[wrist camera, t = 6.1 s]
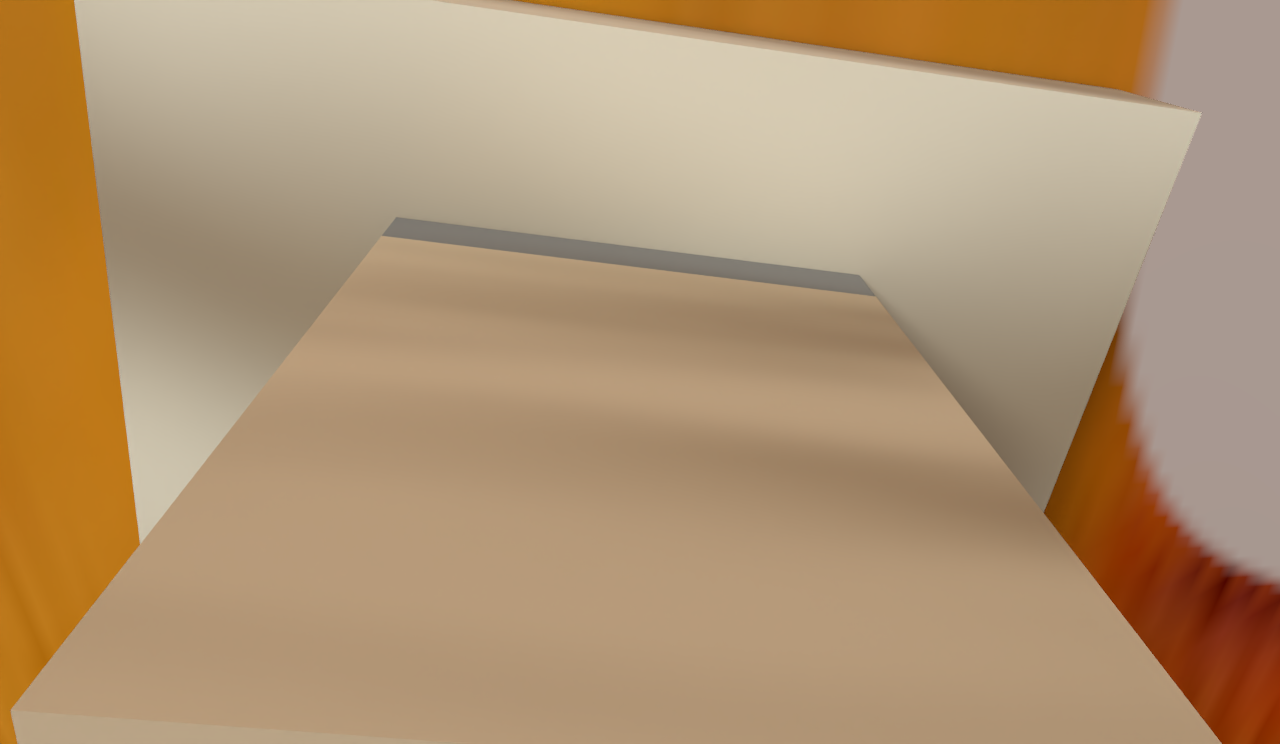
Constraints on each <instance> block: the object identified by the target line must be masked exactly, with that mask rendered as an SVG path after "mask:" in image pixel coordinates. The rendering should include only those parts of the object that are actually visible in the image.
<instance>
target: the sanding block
mask: <svg viewBox="0 0 1280 744" xmlns="http://www.w3.org/2000/svg"><path fill="white" fill-rule="evenodd" d="M11 715H12V720H13V724H14V729H15V734H16V738H17V743H18V744H1222V743H1221V742H1220V741H1219V739H1218V738H1217V737H1216V736H1215V734H1214V733H1213V732H1212V730H1211V729H1210V728H1209V726H1208V725H1207V724H1206V723H1205V721H1204V720H1203V719H1202V717H1201V716H1200V715H1199V714H1198V712H1197V711H1196V710H1195V708H1194V707H1193V706H1192V704H1191V703H1190V702H1189V701H1188V699H1187V698H1186V697H1185V695H1184V694H1183V693H1182V692H1181V690H1180V689H1179V688H1178V686H1177V685H1176V684H1175V683H1174V681H1173V680H1172V679H1171V677H1170V676H1169V675H1168V673H1167V672H1166V671H1165V670H1164V668H1163V667H1162V666H1161V664H1160V663H1159V662H1158V661H1157V659H1156V658H1155V657H1154V655H1153V654H1152V653H1151V651H1150V650H1149V649H1148V648H1147V646H1146V645H1145V644H1144V642H1143V641H1142V640H1141V639H1140V637H1139V636H1138V635H1137V633H1136V632H1135V631H1134V629H1133V628H1132V627H1131V626H1130V624H1129V623H1128V622H1127V620H1126V619H1125V618H1124V617H1123V615H1122V614H1121V613H1120V611H1119V610H1118V609H1117V608H1116V606H1115V605H1114V604H1113V602H1112V601H1111V600H1110V598H1109V597H1108V596H1107V595H1106V593H1105V592H1104V591H1103V589H1102V588H1101V587H1100V586H1099V584H1098V583H1097V582H1096V580H1095V579H1094V578H1093V576H1092V575H1091V574H1090V573H1089V571H1088V570H1087V569H1086V567H1085V566H1084V565H1083V564H1082V562H1081V561H1080V560H1079V558H1078V557H1077V556H1076V555H1075V553H1074V552H1073V551H1072V549H1071V548H1070V547H1069V545H1068V544H1067V543H1066V542H1065V540H1064V539H1063V538H1062V536H1061V535H1060V534H1059V533H1058V531H1057V530H1056V529H1055V527H1054V526H1053V525H1052V523H1051V522H1050V521H1049V520H1048V518H1047V517H1046V516H1045V514H1044V513H1043V512H1042V511H1041V509H1040V508H1039V507H1038V505H1037V504H1036V503H1035V502H1034V500H1033V499H1032V498H1031V496H1030V495H1029V494H1028V492H1027V491H1026V490H1025V489H1024V487H1023V486H1022V485H1021V483H1020V482H1019V481H1018V480H1017V478H1016V477H1015V476H1014V474H1013V473H1012V472H1011V470H1010V469H1009V468H1008V467H1007V465H1006V464H1005V463H1004V461H1003V460H1002V459H1001V458H1000V456H999V455H998V454H997V452H996V451H995V450H994V448H993V447H992V446H991V445H990V443H989V442H988V441H987V439H986V438H985V437H984V436H983V434H982V433H981V432H980V430H979V429H978V428H977V427H976V425H975V424H974V423H973V421H972V420H971V419H970V417H969V416H968V415H967V414H966V412H965V411H964V410H963V408H962V407H961V406H960V405H959V403H958V402H957V401H956V399H955V398H954V397H953V395H952V394H951V393H950V392H949V390H948V389H947V388H946V386H945V385H944V384H943V383H942V381H941V380H940V379H939V377H938V376H937V375H936V374H935V372H934V371H933V370H932V368H931V367H930V366H929V364H928V363H927V362H926V361H925V359H924V358H923V357H922V355H921V354H920V353H919V352H918V350H917V349H916V348H915V346H914V345H913V344H912V342H911V341H910V340H909V339H908V337H907V336H906V335H905V333H904V332H903V331H902V330H901V328H900V327H899V326H898V324H897V323H896V322H895V321H894V319H893V318H892V317H891V315H890V314H889V313H888V311H887V310H886V309H885V308H884V306H883V305H882V304H881V302H880V301H879V300H878V299H877V297H876V296H875V295H874V293H873V292H872V291H871V289H870V288H869V287H868V286H867V284H866V283H865V282H864V280H863V279H862V278H861V277H860V275H855V274H847V273H839V272H831V271H823V270H815V269H807V268H799V267H791V266H783V265H775V264H767V263H759V262H751V261H743V260H735V259H727V258H719V257H711V256H703V255H695V254H687V253H679V252H671V251H663V250H655V249H647V248H639V247H631V246H623V245H615V244H607V243H599V242H591V241H583V240H575V239H567V238H559V237H551V236H543V235H535V234H527V233H519V232H511V231H503V230H495V229H487V228H479V227H471V226H463V225H455V224H447V223H439V222H431V221H423V220H415V219H407V218H399V217H396V218H395V219H394V221H393V222H392V223H391V224H390V226H389V227H388V228H387V230H386V231H385V232H384V233H383V235H382V236H381V237H380V238H379V240H378V241H377V242H376V244H375V245H374V246H373V247H372V249H371V250H370V251H369V253H368V254H367V255H366V256H365V258H364V259H363V260H362V262H361V263H360V264H359V265H358V267H357V268H356V269H355V270H354V272H353V273H352V274H351V276H350V277H349V278H348V279H347V281H346V282H345V283H344V285H343V286H342V287H341V288H340V290H339V291H338V292H337V293H336V295H335V296H334V297H333V299H332V300H331V301H330V302H329V304H328V305H327V306H326V308H325V309H324V310H323V311H322V313H321V314H320V315H319V316H318V318H317V319H316V320H315V322H314V323H313V324H312V325H311V327H310V328H309V329H308V331H307V332H306V333H305V334H304V336H303V337H302V338H301V340H300V341H299V342H298V343H297V345H296V346H295V347H294V348H293V350H292V351H291V352H290V354H289V355H288V356H287V357H286V359H285V360H284V361H283V363H282V364H281V365H280V366H279V368H278V369H277V370H276V371H275V373H274V374H273V375H272V377H271V378H270V379H269V380H268V382H267V383H266V384H265V386H264V387H263V388H262V389H261V391H260V392H259V393H258V394H257V396H256V397H255V398H254V400H253V401H252V402H251V403H250V405H249V406H248V407H247V409H246V410H245V411H244V412H243V414H242V415H241V416H240V418H239V419H238V420H237V421H236V423H235V424H234V425H233V426H232V428H231V429H230V430H229V432H228V433H227V434H226V435H225V437H224V438H223V439H222V441H221V442H220V443H219V444H218V446H217V447H216V448H215V449H214V451H213V452H212V453H211V455H210V456H209V457H208V458H207V460H206V461H205V462H204V464H203V465H202V466H201V467H200V469H199V470H198V471H197V473H196V474H195V475H194V476H193V478H192V479H191V480H190V481H189V483H188V484H187V485H186V487H185V488H184V489H183V490H182V492H181V493H180V494H179V496H178V497H177V498H176V499H175V501H174V502H173V503H172V504H171V506H170V507H169V508H168V510H167V511H166V512H165V513H164V515H163V516H162V517H161V519H160V520H159V521H158V522H157V524H156V525H155V526H154V527H153V529H152V530H151V531H150V533H149V534H148V535H147V536H146V538H145V539H144V540H143V542H142V543H141V544H140V545H139V547H138V548H137V549H136V551H135V552H134V553H133V554H132V556H131V557H130V558H129V559H128V561H127V562H126V563H125V565H124V566H123V567H122V568H121V570H120V571H119V572H118V574H117V575H116V576H115V577H114V579H113V580H112V581H111V582H110V584H109V585H108V586H107V588H106V589H105V590H104V591H103V593H102V594H101V595H100V597H99V598H98V599H97V600H96V602H95V603H94V604H93V605H92V607H91V608H90V609H89V611H88V612H87V613H86V614H85V616H84V617H83V618H82V620H81V621H80V622H79V623H78V625H77V626H76V627H75V629H74V630H73V631H72V632H71V634H70V635H69V636H68V637H67V639H66V640H65V641H64V643H63V644H62V645H61V646H60V648H59V649H58V650H57V652H56V653H55V654H54V655H53V657H52V658H51V659H50V660H49V662H48V663H47V664H46V666H45V667H44V668H43V669H42V671H41V672H40V673H39V675H38V676H37V677H36V678H35V680H34V681H33V682H32V684H31V685H30V686H29V687H28V689H27V690H26V691H25V692H24V694H23V695H22V696H21V698H20V699H19V700H18V701H17V703H16V704H15V705H14V707H13V708H12V709H11Z"/></svg>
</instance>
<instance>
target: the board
mask: <svg viewBox="0 0 1280 744" xmlns="http://www.w3.org/2000/svg"><path fill="white" fill-rule="evenodd" d="M74 3H75V11H76V19H77V27H78V36H79V44H80V52H81V60H82V69H83V77H84V85H85V93H86V102H87V110H88V118H89V126H90V134H91V143H92V151H93V159H94V167H95V176H96V184H97V192H98V200H99V209H100V217H101V225H102V233H103V242H104V250H105V258H106V266H107V275H108V283H109V291H110V299H111V308H112V316H113V324H114V332H115V341H116V349H117V357H118V365H119V374H120V382H121V390H122V398H123V407H124V415H125V423H126V431H127V440H128V448H129V456H130V464H131V473H132V481H133V489H134V497H135V506H136V514H137V522H138V530H139V539H140V544H141V543H142V542H143V540H144V539H145V538H146V536H147V535H148V534H149V533H150V531H151V530H152V529H153V527H154V526H155V525H156V524H157V522H158V521H159V520H160V519H161V517H162V516H163V515H164V513H165V512H166V511H167V510H168V508H169V507H170V506H171V504H172V503H173V502H174V501H175V499H176V498H177V497H178V496H179V494H180V493H181V492H182V490H183V489H184V488H185V487H186V485H187V484H188V483H189V481H190V480H191V479H192V478H193V476H194V475H195V474H196V473H197V471H198V470H199V469H200V467H201V466H202V465H203V464H204V462H205V461H206V460H207V458H208V457H209V456H210V455H211V453H212V452H213V451H214V449H215V448H216V447H217V446H218V444H219V443H220V442H221V441H222V439H223V438H224V437H225V435H226V434H227V433H228V432H229V430H230V429H231V428H232V426H233V425H234V424H235V423H236V421H237V420H238V419H239V418H240V416H241V415H242V414H243V412H244V411H245V410H246V409H247V407H248V406H249V405H250V403H251V402H252V401H253V400H254V398H255V397H256V396H257V394H258V393H259V392H260V391H261V389H262V388H263V387H264V386H265V384H266V383H267V382H268V380H269V379H270V378H271V377H272V375H273V374H274V373H275V371H276V370H277V369H278V368H279V366H280V365H281V364H282V363H283V361H284V360H285V359H286V357H287V356H288V355H289V354H290V352H291V351H292V350H293V348H294V347H295V346H296V345H297V343H298V342H299V341H300V340H301V338H302V337H303V336H304V334H305V333H306V332H307V331H308V329H309V328H310V327H311V325H312V324H313V323H314V322H315V320H316V319H317V318H318V316H319V315H320V314H321V313H322V311H323V310H324V309H325V308H326V306H327V305H328V304H329V302H330V301H331V300H332V299H333V297H334V296H335V295H336V293H337V292H338V291H339V290H340V288H341V287H342V286H343V285H344V283H345V282H346V281H347V279H348V278H349V277H350V276H351V274H352V273H353V272H354V270H355V269H356V268H357V267H358V265H359V264H360V263H361V262H362V260H363V259H364V258H365V256H366V255H367V254H368V253H369V251H370V250H371V249H372V247H373V246H374V245H375V244H376V242H377V241H378V240H379V238H380V237H381V236H382V235H383V233H384V232H385V231H386V230H387V228H388V227H389V226H390V224H391V223H392V222H393V221H394V219H395V218H396V217H399V218H407V219H415V220H423V221H431V222H439V223H447V224H455V225H463V226H471V227H479V228H487V229H495V230H503V231H511V232H519V233H527V234H535V235H543V236H551V237H559V238H567V239H575V240H583V241H591V242H599V243H607V244H615V245H623V246H631V247H639V248H647V249H655V250H663V251H671V252H679V253H687V254H695V255H703V256H711V257H719V258H727V259H735V260H743V261H751V262H759V263H767V264H775V265H783V266H791V267H799V268H807V269H815V270H823V271H831V272H839V273H847V274H855V275H860V277H861V278H862V279H863V280H864V282H865V283H866V284H867V286H868V287H869V288H870V289H871V291H872V292H873V293H874V295H875V296H876V297H877V299H878V300H879V301H880V302H881V304H882V305H883V306H884V308H885V309H886V310H887V311H888V313H889V314H890V315H891V317H892V318H893V319H894V321H895V322H896V323H897V324H898V326H899V327H900V328H901V330H902V331H903V332H904V333H905V335H906V336H907V337H908V339H909V340H910V341H911V342H912V344H913V345H914V346H915V348H916V349H917V350H918V352H919V353H920V354H921V355H922V357H923V358H924V359H925V361H926V362H927V363H928V364H929V366H930V367H931V368H932V370H933V371H934V372H935V374H936V375H937V376H938V377H939V379H940V380H941V381H942V383H943V384H944V385H945V386H946V388H947V389H948V390H949V392H950V393H951V394H952V395H953V397H954V398H955V399H956V401H957V402H958V403H959V405H960V406H961V407H962V408H963V410H964V411H965V412H966V414H967V415H968V416H969V417H970V419H971V420H972V421H973V423H974V424H975V425H976V427H977V428H978V429H979V430H980V432H981V433H982V434H983V436H984V437H985V438H986V439H987V441H988V442H989V443H990V445H991V446H992V447H993V448H994V450H995V451H996V452H997V454H998V455H999V456H1000V458H1001V459H1002V460H1003V461H1004V463H1005V464H1006V465H1007V467H1008V468H1009V469H1010V470H1011V472H1012V473H1013V474H1014V476H1015V477H1016V478H1017V480H1018V481H1019V482H1020V483H1021V485H1022V486H1023V487H1024V489H1025V490H1026V491H1027V492H1028V494H1029V495H1030V496H1031V498H1032V499H1033V500H1034V502H1035V503H1036V504H1037V505H1038V507H1039V508H1040V509H1041V511H1042V512H1043V513H1044V511H1045V508H1046V506H1047V503H1048V500H1049V498H1050V495H1051V493H1052V490H1053V488H1054V485H1055V483H1056V480H1057V478H1058V475H1059V473H1060V470H1061V468H1062V465H1063V463H1064V460H1065V458H1066V455H1067V453H1068V450H1069V448H1070V445H1071V442H1072V440H1073V437H1074V435H1075V432H1076V430H1077V427H1078V425H1079V422H1080V420H1081V417H1082V415H1083V412H1084V410H1085V407H1086V405H1087V402H1088V400H1089V397H1090V395H1091V392H1092V389H1093V387H1094V384H1095V382H1096V379H1097V377H1098V374H1099V372H1100V369H1101V367H1102V364H1103V362H1104V359H1105V357H1106V354H1107V352H1108V349H1109V347H1110V344H1111V342H1112V339H1113V336H1114V334H1115V331H1116V329H1117V326H1118V324H1119V321H1120V319H1121V316H1122V314H1123V311H1124V309H1125V306H1126V304H1127V301H1128V299H1129V296H1130V294H1131V291H1132V289H1133V286H1134V284H1135V281H1136V278H1137V276H1138V273H1139V271H1140V268H1141V266H1142V263H1143V261H1144V258H1145V256H1146V253H1147V251H1148V248H1149V246H1150V243H1151V241H1152V238H1153V236H1154V233H1155V231H1156V228H1157V225H1158V223H1159V220H1160V218H1161V215H1162V213H1163V210H1164V208H1165V205H1166V203H1167V200H1168V198H1169V195H1170V193H1171V190H1172V188H1173V185H1174V182H1175V180H1176V177H1177V175H1178V173H1179V170H1180V167H1181V165H1182V162H1183V160H1184V157H1185V154H1186V152H1187V150H1188V147H1189V145H1190V142H1191V140H1192V137H1193V134H1194V132H1195V129H1196V127H1197V124H1198V122H1199V120H1200V117H1201V114H1202V113H1201V112H1197V111H1194V110H1190V109H1186V108H1183V107H1179V106H1176V105H1172V104H1168V103H1164V102H1161V101H1157V100H1154V99H1150V98H1147V97H1143V96H1139V95H1136V94H1132V93H1129V92H1125V91H1121V90H1117V89H1111V88H1104V87H1097V86H1090V85H1083V84H1077V83H1070V82H1063V81H1056V80H1049V79H1043V78H1036V77H1029V76H1022V75H1015V74H1009V73H1002V72H995V71H988V70H981V69H975V68H968V67H961V66H954V65H947V64H941V63H934V62H927V61H920V60H913V59H907V58H900V57H893V56H886V55H879V54H873V53H866V52H859V51H852V50H846V49H839V48H832V47H825V46H818V45H812V44H805V43H798V42H791V41H784V40H778V39H771V38H764V37H757V36H750V35H744V34H737V33H730V32H723V31H716V30H710V29H703V28H696V27H689V26H682V25H676V24H669V23H662V22H655V21H648V20H642V19H635V18H628V17H621V16H614V15H608V14H601V13H594V12H587V11H580V10H574V9H567V8H560V7H553V6H546V5H540V4H533V3H526V2H519V1H513V0H74Z"/></svg>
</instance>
